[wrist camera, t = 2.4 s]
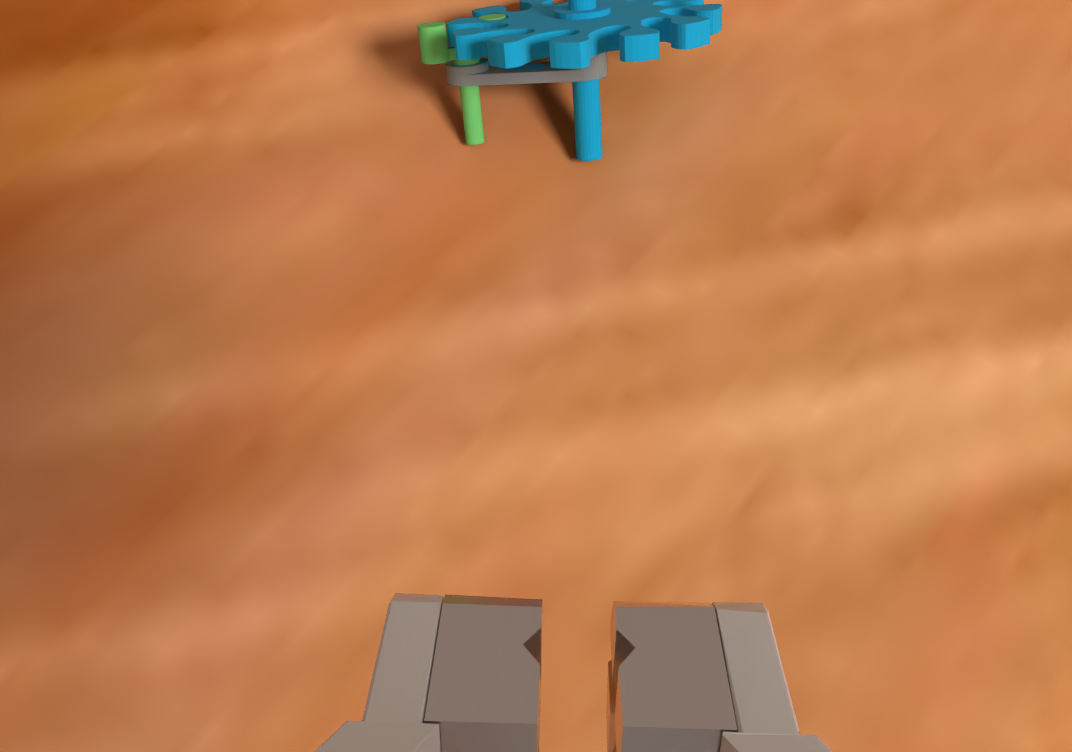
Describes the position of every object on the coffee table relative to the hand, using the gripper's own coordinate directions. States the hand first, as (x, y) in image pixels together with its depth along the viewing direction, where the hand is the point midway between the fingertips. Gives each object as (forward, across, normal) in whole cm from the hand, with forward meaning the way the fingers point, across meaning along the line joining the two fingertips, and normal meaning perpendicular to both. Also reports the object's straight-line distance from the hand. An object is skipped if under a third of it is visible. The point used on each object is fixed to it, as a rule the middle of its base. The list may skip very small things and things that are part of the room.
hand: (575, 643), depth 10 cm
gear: (+33, 0, +2) cm, 33 cm away
